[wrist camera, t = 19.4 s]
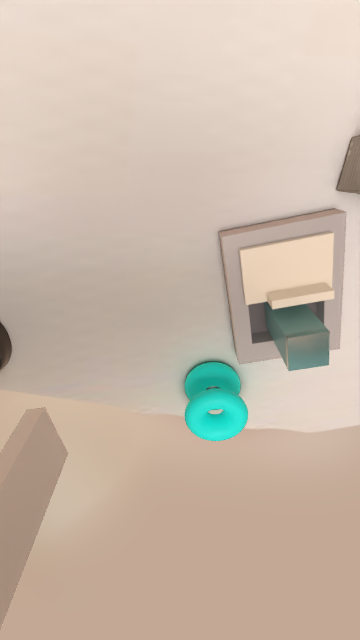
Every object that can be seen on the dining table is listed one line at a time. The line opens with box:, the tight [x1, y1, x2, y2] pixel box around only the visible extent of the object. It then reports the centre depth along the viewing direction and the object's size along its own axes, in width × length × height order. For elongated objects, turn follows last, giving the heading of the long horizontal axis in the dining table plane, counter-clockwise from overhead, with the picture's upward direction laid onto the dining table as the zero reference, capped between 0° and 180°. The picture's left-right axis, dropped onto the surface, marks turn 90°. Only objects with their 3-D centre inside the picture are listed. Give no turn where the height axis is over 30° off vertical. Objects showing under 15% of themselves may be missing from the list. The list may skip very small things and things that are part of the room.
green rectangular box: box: [264, 301, 330, 371], centre depth 43 cm, size 5×5×12 cm
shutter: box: [239, 231, 335, 309], centre depth 40 cm, size 12×8×4 cm, turn 101°
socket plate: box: [219, 209, 346, 364], centre depth 46 cm, size 16×21×4 cm
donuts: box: [185, 362, 248, 441], centre depth 51 cm, size 10×10×10 cm
